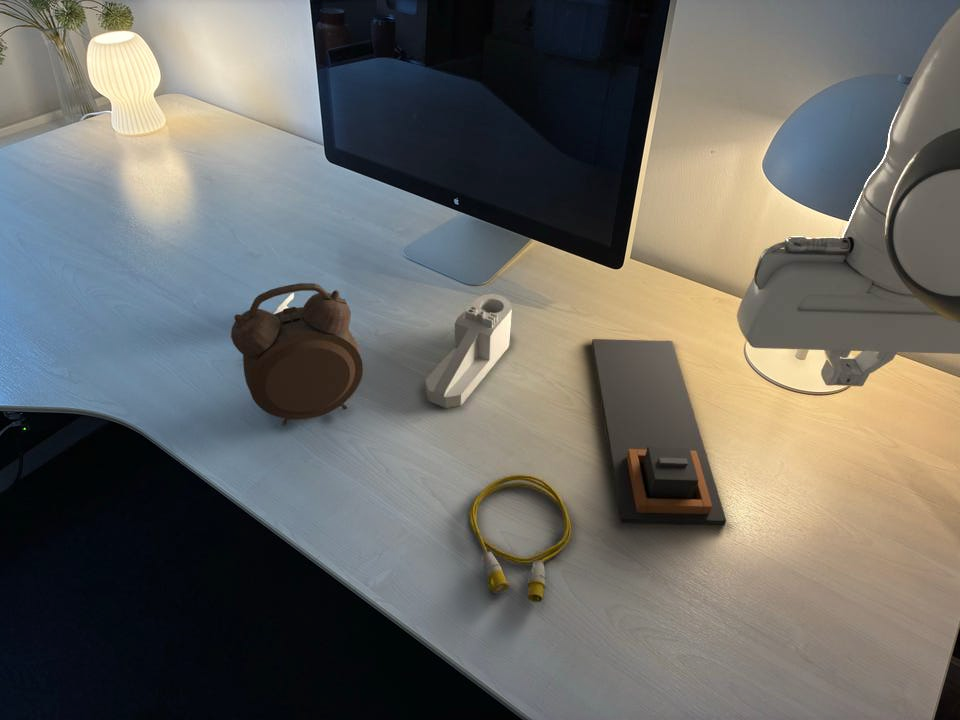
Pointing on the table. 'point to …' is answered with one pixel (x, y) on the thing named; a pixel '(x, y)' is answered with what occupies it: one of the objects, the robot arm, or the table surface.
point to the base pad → (651, 429)
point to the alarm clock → (299, 354)
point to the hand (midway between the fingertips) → (840, 381)
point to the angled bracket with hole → (471, 350)
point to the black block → (669, 473)
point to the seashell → (284, 304)
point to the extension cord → (493, 567)
